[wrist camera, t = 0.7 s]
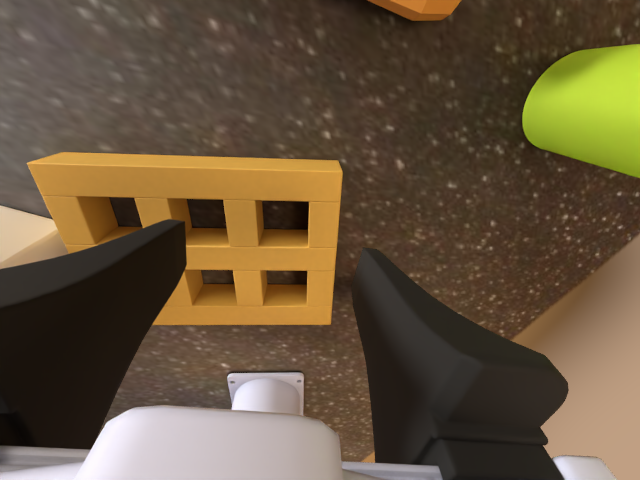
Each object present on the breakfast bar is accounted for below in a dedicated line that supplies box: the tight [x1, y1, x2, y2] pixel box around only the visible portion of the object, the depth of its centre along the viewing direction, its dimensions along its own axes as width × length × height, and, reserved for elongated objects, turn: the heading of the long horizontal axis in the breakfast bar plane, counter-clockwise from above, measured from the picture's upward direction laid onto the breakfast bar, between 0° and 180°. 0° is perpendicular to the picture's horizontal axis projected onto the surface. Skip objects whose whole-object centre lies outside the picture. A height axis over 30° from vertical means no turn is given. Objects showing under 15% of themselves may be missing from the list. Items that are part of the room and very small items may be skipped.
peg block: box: [27, 152, 343, 325], centre depth 21 cm, size 13×18×3 cm
